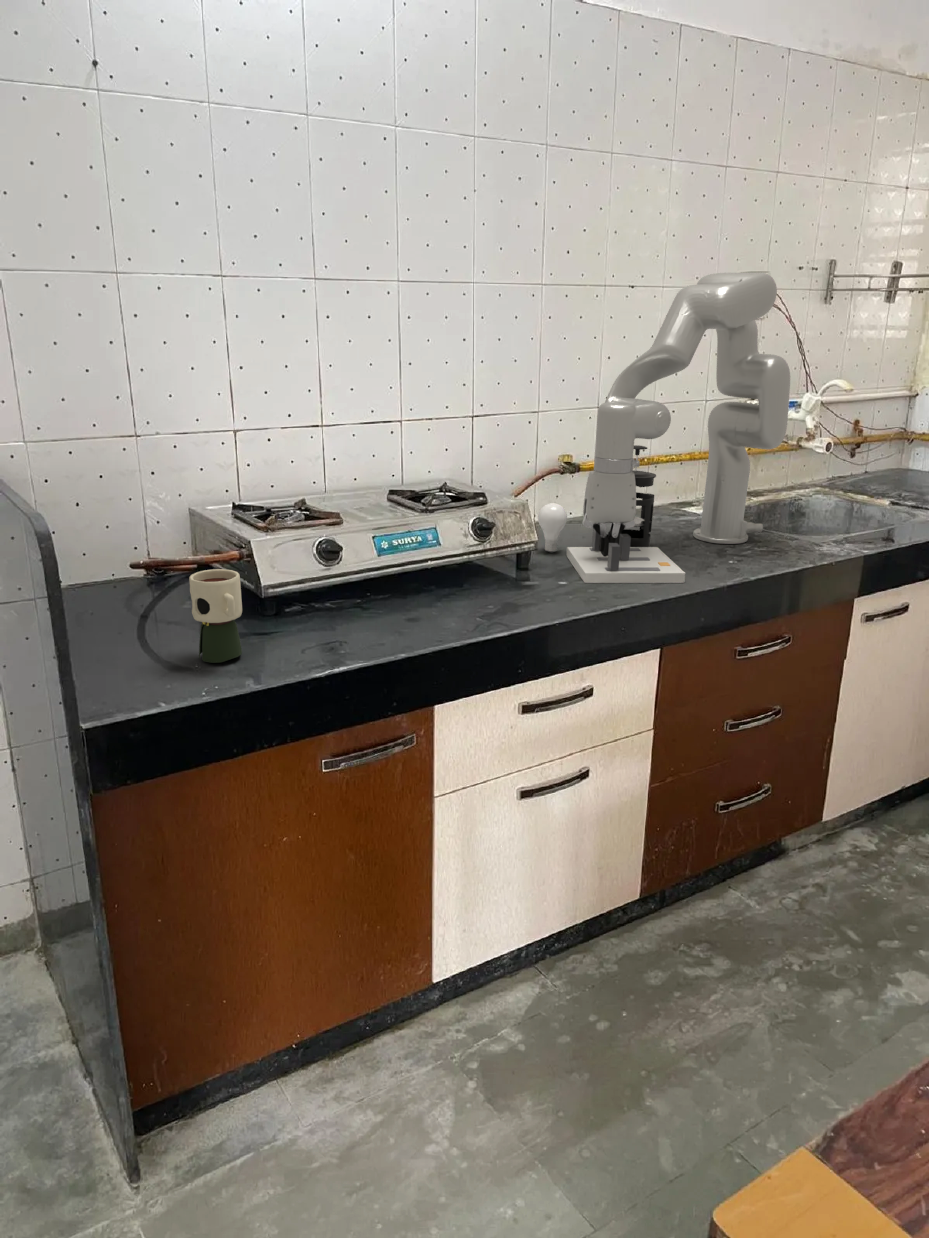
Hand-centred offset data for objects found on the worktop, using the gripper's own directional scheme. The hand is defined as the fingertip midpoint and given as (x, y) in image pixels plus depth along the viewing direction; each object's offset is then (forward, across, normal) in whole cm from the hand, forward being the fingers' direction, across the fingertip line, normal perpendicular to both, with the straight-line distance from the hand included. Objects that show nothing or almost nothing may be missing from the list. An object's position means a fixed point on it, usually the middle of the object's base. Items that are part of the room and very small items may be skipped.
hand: (606, 554), depth 179 cm
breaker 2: (+1, 0, +8) cm, 8 cm away
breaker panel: (+3, -4, 0) cm, 5 cm away
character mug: (+3, +69, +48) cm, 84 cm away
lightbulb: (+3, +9, -13) cm, 16 cm away
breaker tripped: (+1, -4, 0) cm, 4 cm away
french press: (+3, -10, -17) cm, 20 cm away
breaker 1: (+1, 0, -8) cm, 8 cm away
